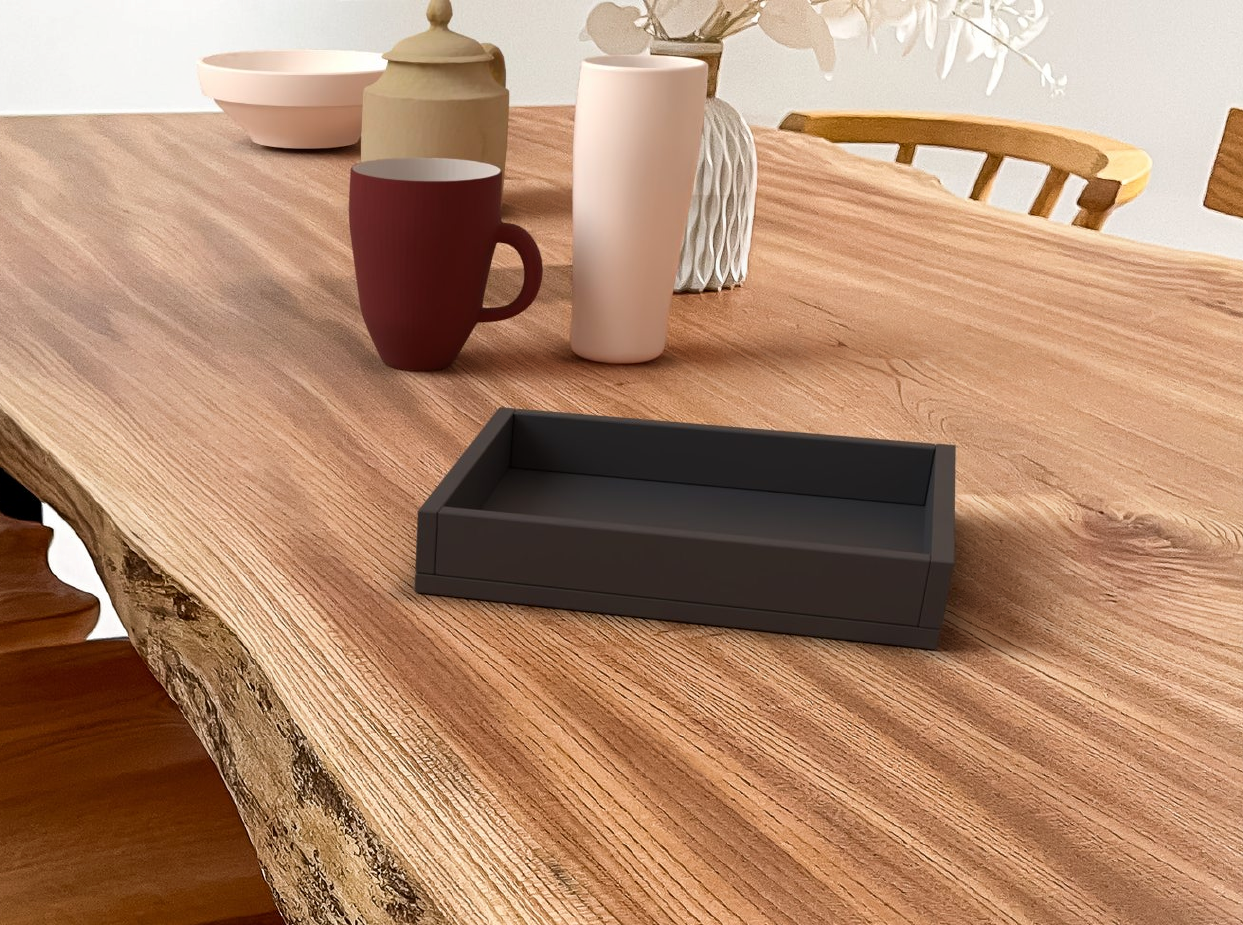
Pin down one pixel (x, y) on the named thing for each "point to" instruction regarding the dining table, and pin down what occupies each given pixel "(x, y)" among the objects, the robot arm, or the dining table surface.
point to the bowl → (293, 93)
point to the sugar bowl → (438, 98)
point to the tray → (698, 525)
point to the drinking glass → (631, 198)
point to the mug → (430, 255)
